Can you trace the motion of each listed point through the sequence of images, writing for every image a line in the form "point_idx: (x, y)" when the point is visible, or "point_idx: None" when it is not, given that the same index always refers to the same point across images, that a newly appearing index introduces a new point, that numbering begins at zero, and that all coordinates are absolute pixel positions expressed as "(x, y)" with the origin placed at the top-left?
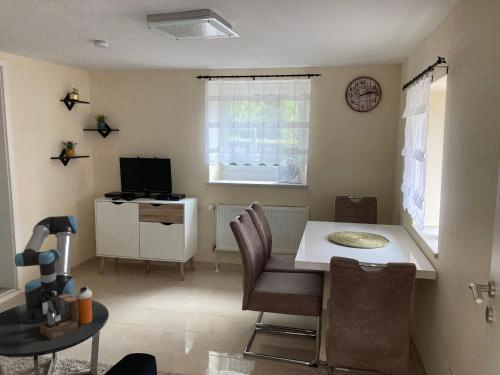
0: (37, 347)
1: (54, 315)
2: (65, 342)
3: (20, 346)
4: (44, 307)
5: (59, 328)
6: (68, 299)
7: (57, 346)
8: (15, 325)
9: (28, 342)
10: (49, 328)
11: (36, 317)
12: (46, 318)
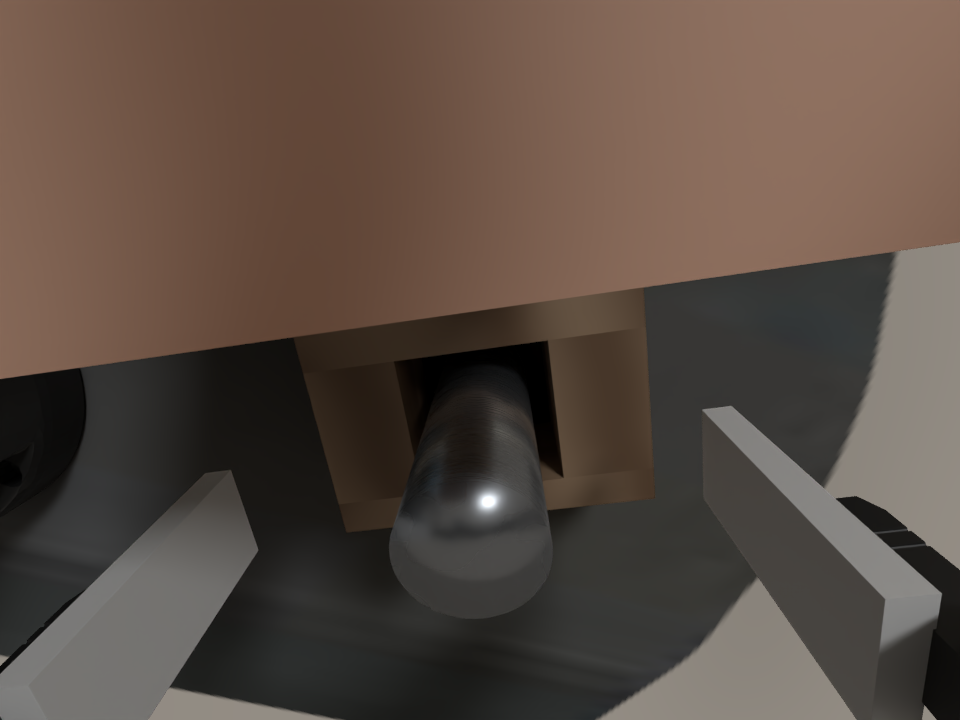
0: (676, 573)
1: (528, 474)
2: (825, 344)
3: (530, 661)
4: (166, 646)
5: (644, 369)
6: (834, 40)
7: (833, 437)
8: (20, 585)
9: None
10: (567, 482)
11: (9, 456)
12: None
